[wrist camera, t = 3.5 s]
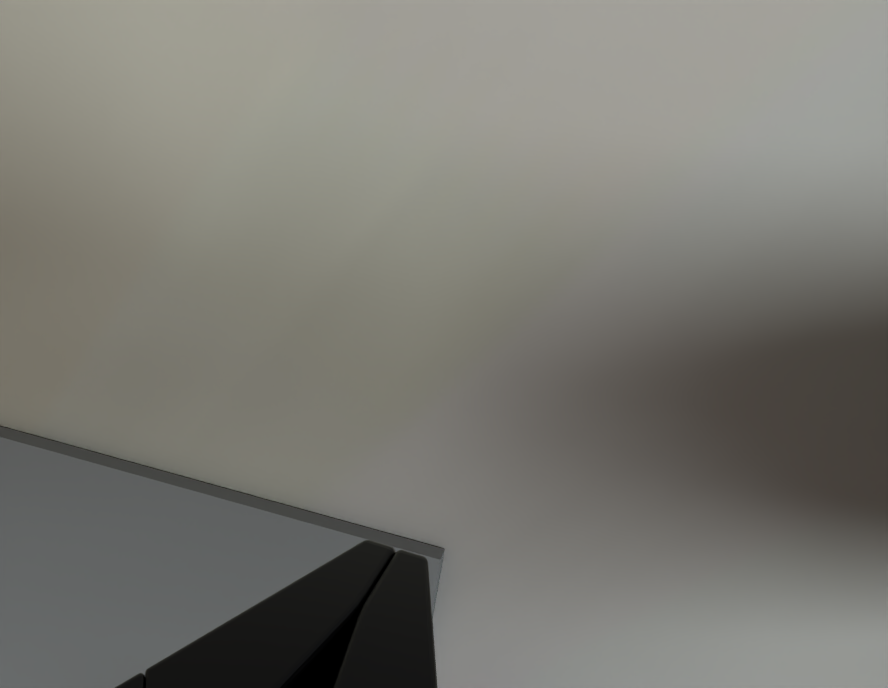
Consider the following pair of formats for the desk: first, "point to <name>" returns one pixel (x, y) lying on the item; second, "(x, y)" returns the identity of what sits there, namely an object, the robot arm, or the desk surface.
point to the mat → (138, 561)
